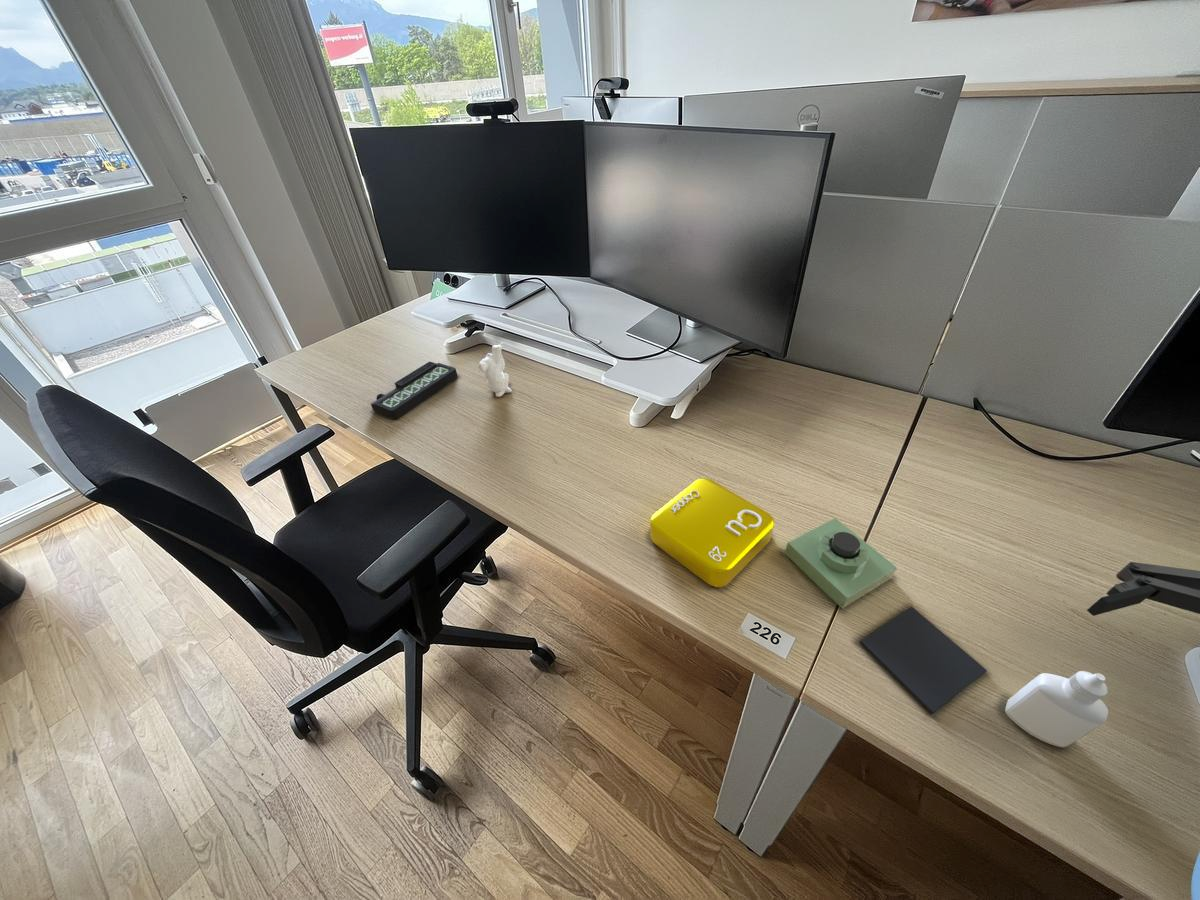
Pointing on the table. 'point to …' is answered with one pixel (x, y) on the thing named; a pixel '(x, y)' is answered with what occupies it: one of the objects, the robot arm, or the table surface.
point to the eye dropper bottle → (1060, 707)
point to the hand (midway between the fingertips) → (1164, 664)
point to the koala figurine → (495, 371)
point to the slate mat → (922, 659)
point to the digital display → (414, 389)
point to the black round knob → (845, 545)
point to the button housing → (839, 564)
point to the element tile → (711, 531)
